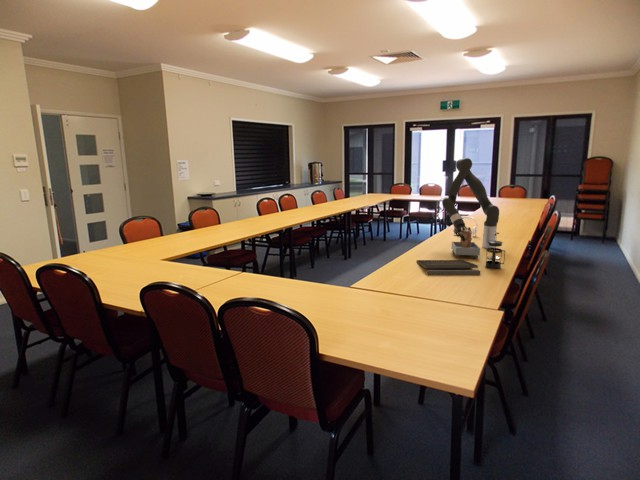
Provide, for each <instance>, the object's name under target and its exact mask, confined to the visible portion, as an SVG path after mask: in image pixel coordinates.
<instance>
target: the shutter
mask: <svg viewBox="0 0 640 480" xmlns="http://www.w3.org/2000/svg"><path fill="white" fill-rule="evenodd" d="M416 263H417V264H418V265H419V266H422V267H423V268H425V269H426V274H427V275H428V276H481V270H479V269H478V268H479V265H478V264H475V263H472V262H470V261H468V260H464V259H417V260H416Z"/></svg>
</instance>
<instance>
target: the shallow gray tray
mask: <svg viewBox="0 0 640 480" xmlns="http://www.w3.org/2000/svg"><path fill="white" fill-rule="evenodd" d="M451 251H452V253H453V254H454V255H455V258H456V259H460V258H461V256H472V257H473V259H475V260H477V259H478V258H479V256H481V255H480V254H481V247H479V245H478V244H477V243H476V242H474V241H473V242H472V241H471V247H470V248H463V247H460V241H451Z"/></svg>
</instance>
